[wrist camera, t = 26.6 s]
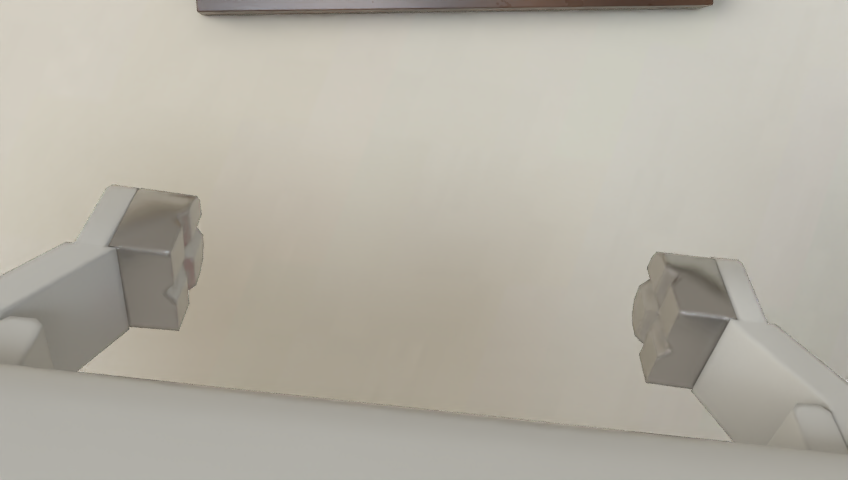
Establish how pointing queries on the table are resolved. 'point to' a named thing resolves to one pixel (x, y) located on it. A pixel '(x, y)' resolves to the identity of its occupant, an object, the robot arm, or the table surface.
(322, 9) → the board
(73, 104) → the table surface
